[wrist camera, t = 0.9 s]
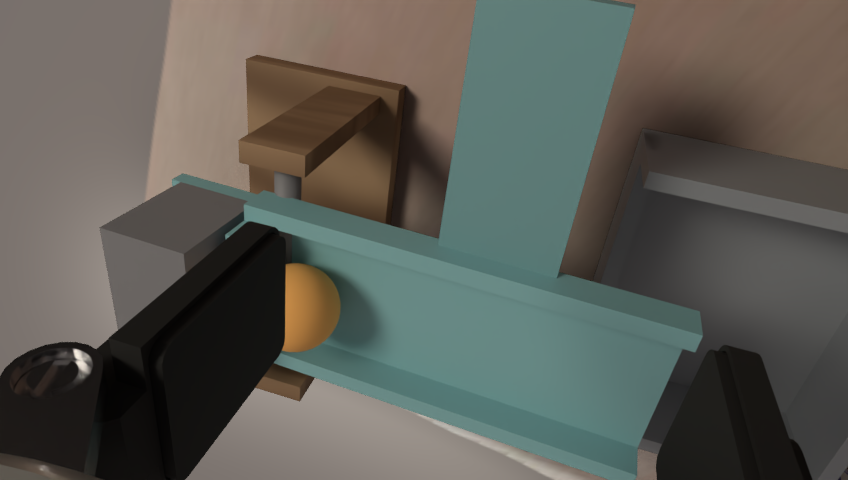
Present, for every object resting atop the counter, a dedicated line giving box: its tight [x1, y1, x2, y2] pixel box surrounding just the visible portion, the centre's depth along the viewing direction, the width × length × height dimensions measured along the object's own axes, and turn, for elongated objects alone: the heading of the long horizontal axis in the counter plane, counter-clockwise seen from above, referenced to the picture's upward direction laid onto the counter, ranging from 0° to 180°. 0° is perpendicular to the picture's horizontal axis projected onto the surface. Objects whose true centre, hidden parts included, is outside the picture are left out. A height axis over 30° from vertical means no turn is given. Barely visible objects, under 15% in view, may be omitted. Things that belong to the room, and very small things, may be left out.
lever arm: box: [100, 0, 703, 480], centre depth 24 cm, size 20×24×6 cm
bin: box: [592, 128, 848, 480], centre depth 30 cm, size 16×14×6 cm
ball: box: [282, 263, 341, 352], centre depth 27 cm, size 4×4×4 cm
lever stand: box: [239, 55, 406, 401], centre depth 33 cm, size 15×9×10 cm, turn 172°
